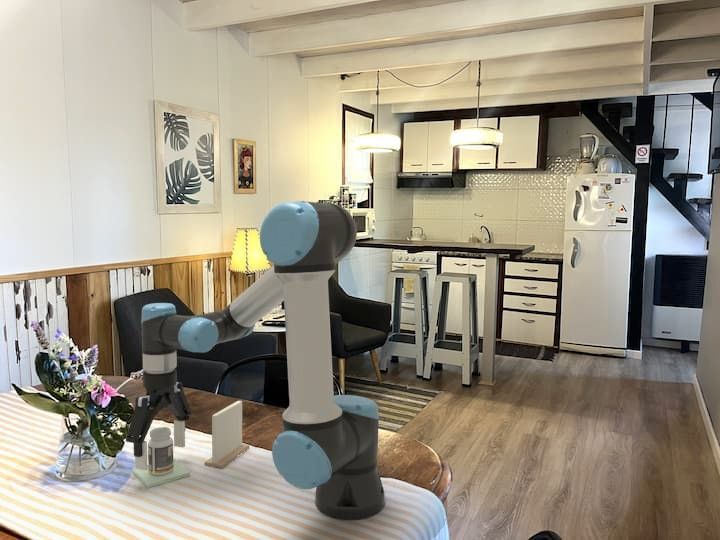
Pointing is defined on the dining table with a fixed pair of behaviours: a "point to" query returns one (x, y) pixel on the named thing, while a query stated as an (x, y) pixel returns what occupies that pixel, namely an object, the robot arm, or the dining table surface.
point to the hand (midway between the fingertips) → (161, 457)
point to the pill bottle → (160, 451)
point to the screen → (226, 436)
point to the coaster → (155, 480)
